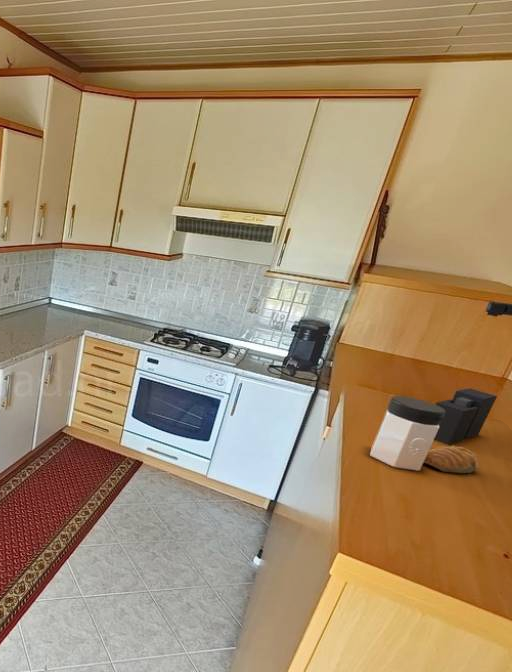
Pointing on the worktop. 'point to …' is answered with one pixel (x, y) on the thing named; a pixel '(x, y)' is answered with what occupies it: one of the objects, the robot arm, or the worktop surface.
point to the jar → (407, 432)
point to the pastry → (452, 459)
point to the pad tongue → (475, 400)
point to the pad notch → (454, 422)
